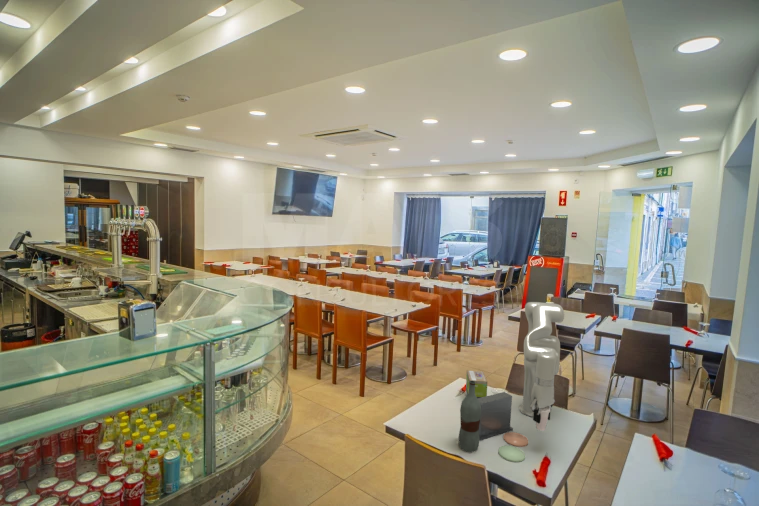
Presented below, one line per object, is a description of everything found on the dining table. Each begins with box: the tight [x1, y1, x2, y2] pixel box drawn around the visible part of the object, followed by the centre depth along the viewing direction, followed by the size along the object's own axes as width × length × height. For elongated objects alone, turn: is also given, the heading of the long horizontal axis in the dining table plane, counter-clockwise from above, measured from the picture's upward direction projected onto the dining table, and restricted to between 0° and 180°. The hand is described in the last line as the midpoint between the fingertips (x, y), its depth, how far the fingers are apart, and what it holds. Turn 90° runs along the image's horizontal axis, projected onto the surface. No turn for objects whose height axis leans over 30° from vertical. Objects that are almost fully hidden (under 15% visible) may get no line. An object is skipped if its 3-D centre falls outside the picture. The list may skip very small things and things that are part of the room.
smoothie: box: [535, 405, 551, 432], centre depth 176 cm, size 6×6×14 cm
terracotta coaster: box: [502, 431, 529, 448], centre depth 186 cm, size 11×11×1 cm
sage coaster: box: [498, 445, 526, 463], centre depth 174 cm, size 11×11×1 cm
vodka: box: [458, 381, 481, 453], centre depth 177 cm, size 9×9×30 cm
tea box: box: [465, 370, 488, 398], centre depth 227 cm, size 15×10×15 cm, turn 174°
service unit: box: [477, 391, 514, 442], centre depth 192 cm, size 22×7×17 cm, turn 120°
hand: (541, 419), depth 176 cm, fingers closed on smoothie, 5 cm apart
